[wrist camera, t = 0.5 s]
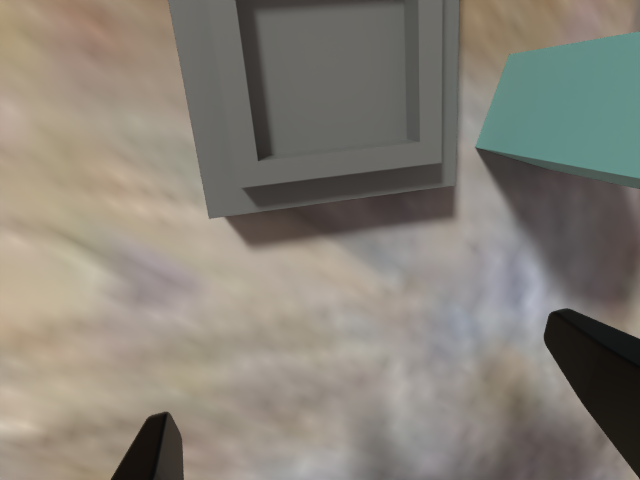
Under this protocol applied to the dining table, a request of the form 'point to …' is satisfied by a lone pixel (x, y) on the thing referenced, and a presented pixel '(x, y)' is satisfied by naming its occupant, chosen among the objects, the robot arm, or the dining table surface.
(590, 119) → the column brick
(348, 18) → the base brick
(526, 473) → the dining table surface
